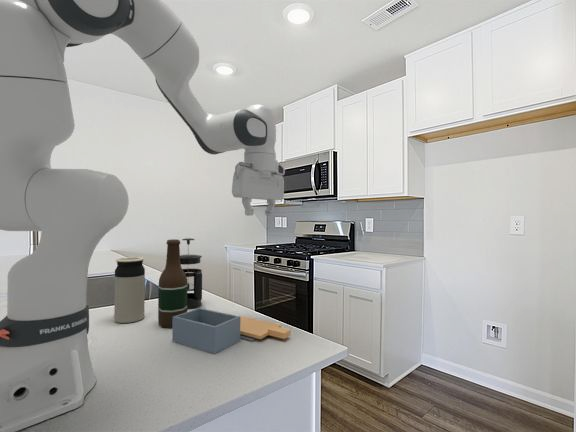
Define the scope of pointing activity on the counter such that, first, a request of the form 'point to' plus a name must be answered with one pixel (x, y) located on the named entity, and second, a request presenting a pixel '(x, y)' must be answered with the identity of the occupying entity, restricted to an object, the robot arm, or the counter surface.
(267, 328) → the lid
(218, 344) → the tub
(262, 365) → the counter surface
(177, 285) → the beer bottle
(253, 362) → the counter surface
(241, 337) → the mat
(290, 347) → the counter surface
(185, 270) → the french press
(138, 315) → the travel mug
